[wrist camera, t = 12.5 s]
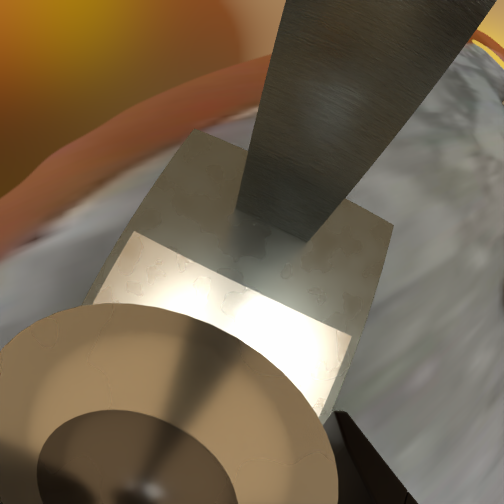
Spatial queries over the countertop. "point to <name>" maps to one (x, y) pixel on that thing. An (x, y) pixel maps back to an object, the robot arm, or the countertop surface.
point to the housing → (153, 415)
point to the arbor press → (293, 190)
